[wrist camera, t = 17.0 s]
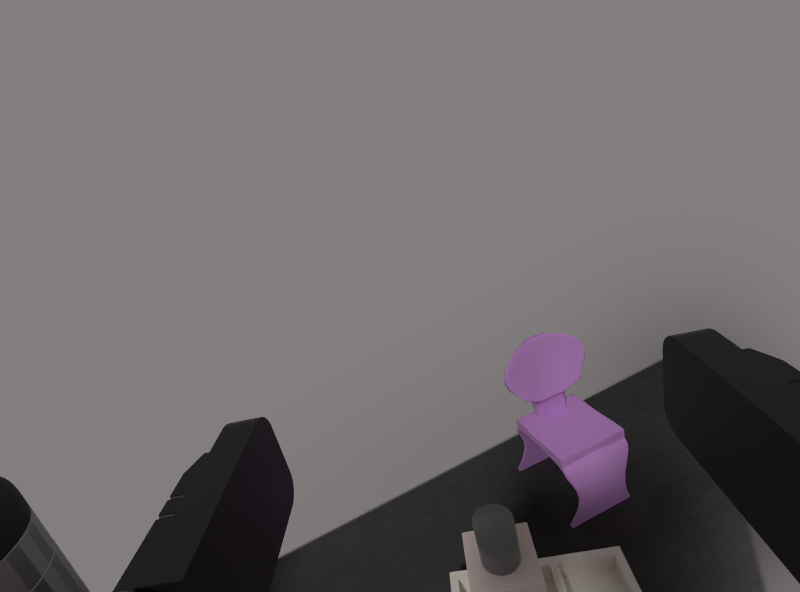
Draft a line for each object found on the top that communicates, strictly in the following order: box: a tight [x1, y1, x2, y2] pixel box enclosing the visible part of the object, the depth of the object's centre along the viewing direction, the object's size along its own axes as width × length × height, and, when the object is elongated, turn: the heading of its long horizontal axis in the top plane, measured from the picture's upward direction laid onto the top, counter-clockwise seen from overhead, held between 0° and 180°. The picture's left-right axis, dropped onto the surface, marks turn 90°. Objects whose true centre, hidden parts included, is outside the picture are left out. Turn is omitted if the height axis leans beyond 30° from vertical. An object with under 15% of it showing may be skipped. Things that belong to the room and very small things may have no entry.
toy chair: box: [504, 333, 630, 528], centre depth 41 cm, size 8×9×15 cm
